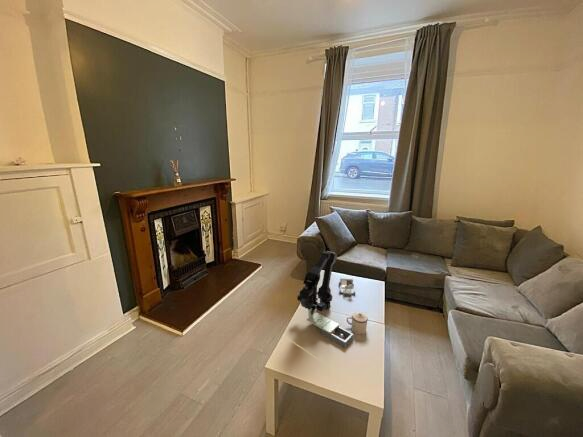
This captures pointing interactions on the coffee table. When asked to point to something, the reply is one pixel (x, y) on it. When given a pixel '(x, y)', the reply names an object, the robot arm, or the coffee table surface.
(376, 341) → the coffee table surface
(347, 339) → the tub
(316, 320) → the lid
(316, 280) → the robot arm
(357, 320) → the teacup with lid
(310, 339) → the coffee table surface
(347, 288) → the toy rover
